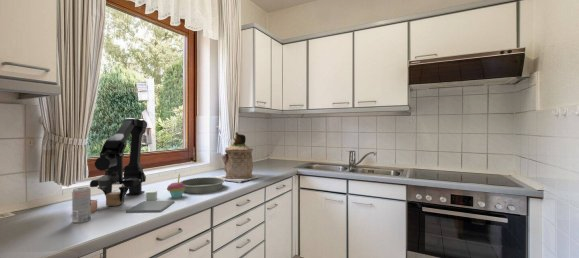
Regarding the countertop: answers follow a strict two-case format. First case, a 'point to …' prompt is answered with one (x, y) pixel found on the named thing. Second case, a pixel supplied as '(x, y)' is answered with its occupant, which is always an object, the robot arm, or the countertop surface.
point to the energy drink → (81, 205)
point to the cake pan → (202, 184)
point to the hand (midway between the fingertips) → (115, 201)
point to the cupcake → (176, 189)
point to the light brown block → (93, 206)
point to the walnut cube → (113, 199)
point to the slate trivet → (150, 206)
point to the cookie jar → (238, 161)
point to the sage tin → (151, 195)
